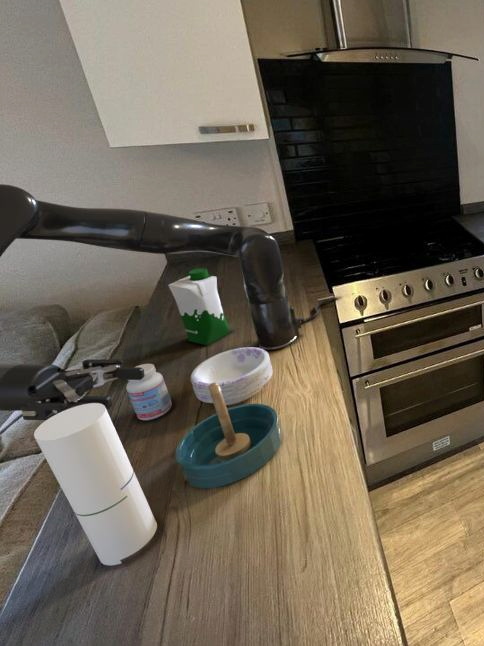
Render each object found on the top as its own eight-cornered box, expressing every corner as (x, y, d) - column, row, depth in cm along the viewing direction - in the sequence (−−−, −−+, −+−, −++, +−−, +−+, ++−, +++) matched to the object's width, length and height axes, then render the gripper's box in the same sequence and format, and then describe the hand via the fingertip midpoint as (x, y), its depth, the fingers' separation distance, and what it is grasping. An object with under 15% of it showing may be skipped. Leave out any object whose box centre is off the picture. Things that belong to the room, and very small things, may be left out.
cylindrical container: (169, 520, 74) (119, 402, 65) (134, 564, 67) (72, 440, 58) (125, 521, 74) (69, 403, 65) (86, 566, 67) (17, 441, 58)
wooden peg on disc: (242, 436, 90) (221, 370, 84) (257, 447, 87) (237, 380, 81) (212, 455, 86) (188, 386, 80) (227, 467, 83) (203, 397, 77)
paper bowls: (280, 366, 113) (273, 340, 110) (269, 405, 100) (261, 376, 97) (210, 379, 108) (201, 352, 105) (189, 422, 95) (179, 393, 92)
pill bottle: (131, 423, 94) (114, 381, 90) (147, 404, 100) (131, 363, 96) (165, 418, 96) (148, 376, 92) (178, 399, 101) (163, 359, 97)
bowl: (255, 413, 97) (250, 393, 95) (299, 443, 89) (294, 422, 87) (168, 466, 84) (159, 444, 82) (210, 506, 76) (202, 483, 74)
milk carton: (235, 331, 128) (218, 269, 121) (205, 348, 120) (184, 283, 113) (213, 326, 131) (194, 265, 124) (182, 342, 123) (160, 278, 115)
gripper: (-35, 394, 66) (95, 394, 70) (45, 345, 79) (150, 348, 83) (-24, 435, 68) (101, 433, 72) (52, 381, 81) (154, 381, 85)
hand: (127, 387), depth 78 cm, fingers open, 8 cm apart
